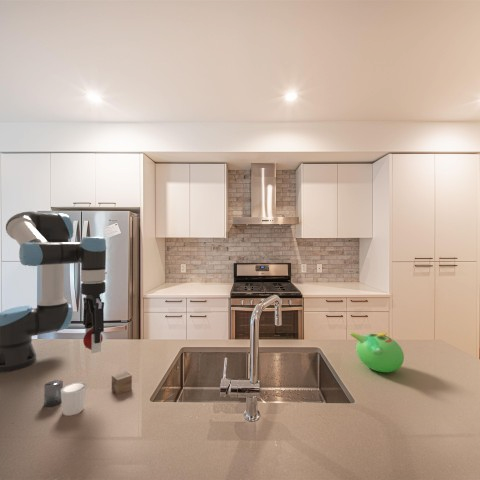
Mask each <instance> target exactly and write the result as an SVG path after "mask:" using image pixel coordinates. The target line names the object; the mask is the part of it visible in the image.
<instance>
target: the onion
mask: <svg viewBox="0 0 480 480" xmlns="http://www.w3.org/2000/svg"><path fill="white" fill-rule="evenodd" d="M92 332H93V327H92V328H91V330H90V331H88V332H87V333H86V334H84V337H83V340H82V342H83V345H84V348H85V347H87V348H86V349H88V350H91V351H92V334H91V333H92ZM103 339H104V338H103V334H102V333H101V343H102V342H103Z"/></svg>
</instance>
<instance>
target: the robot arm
mask: <svg viewBox="0 0 480 480" xmlns="http://www.w3.org/2000/svg"><path fill="white" fill-rule="evenodd" d="M5 231H6V233H7V235H8V236H9V238H11V239H13V240H15V241H16V243H18V245H19V252H18V257H19V261H20V264H21V265H22V266H32V267H33V266H35V267H36V266H41V296H40V297H41V299H40V301H38V302H37V307H36V308H33V307H32V306H31V305H22V306H16V307H12V308H9V309H5V310H3V311H1V312H0V373H3V372H4V373H6V372H12V371H16V370H21V369H24V368H27V367H30V366H31V365H32V364H34V363H36V362H37V353H36V349H35V347H34V346H33V343H32V342H33V341H32V337H34V336H40V335H45V334H49V333H54V332H55V333H56V332H59V331H64V330H67V328H69V327H70V325H71V322H72V319H73V307H72V304H70V303H68V300H67V299H66V298H65V292H64V291H65V265H67V264H81V265H80V266H81V267H80V281H81V282H82V283H81V284H80V293H81V295H84V296H85V297H83V298H82V300H83V320H82V321H83V322H82V324H83V326H84V328H85V330H84V331H85V332H84V333H85V334H86V333H87V332H88V331H90V330H91V328H92V327H93V332H92V333H91V334H92V350H91V354H95V353H100V352H102V342H101V334H102V333H103V332H105V331H104V330H105V327H104V325H105V324H104V320H105V319H104V318H105V317H104V316H105V315H104V307H105V302H104V301H102V298H101V295H102V294H105V293H106V290H107V289H106V286H107V285H106V282H105V281H106V275H107V274H108V271H107V270H106V265H107V264H106V263H107V262H106V261H107V244H106V243H107V242H106V241H107V240H106V238H105V237H101V236H84V237H82V238H81V242H80V241H77V242H76V241H75V242H70V241H69V240H71V239H73V236H74V225H73V221H72V219H71V217H70V216H69V215H68V214H66V213H60V212H59V213H58V212H44V211H43V212H40V211H39V212H38V211H23V212H19V213H16V214H14V215H13V216H11V217H10V218H9V219H8V220H7V222H6V223H5ZM85 334H84V335H85ZM84 348H85V349H88V348H87V347H85V346H84Z"/></svg>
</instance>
